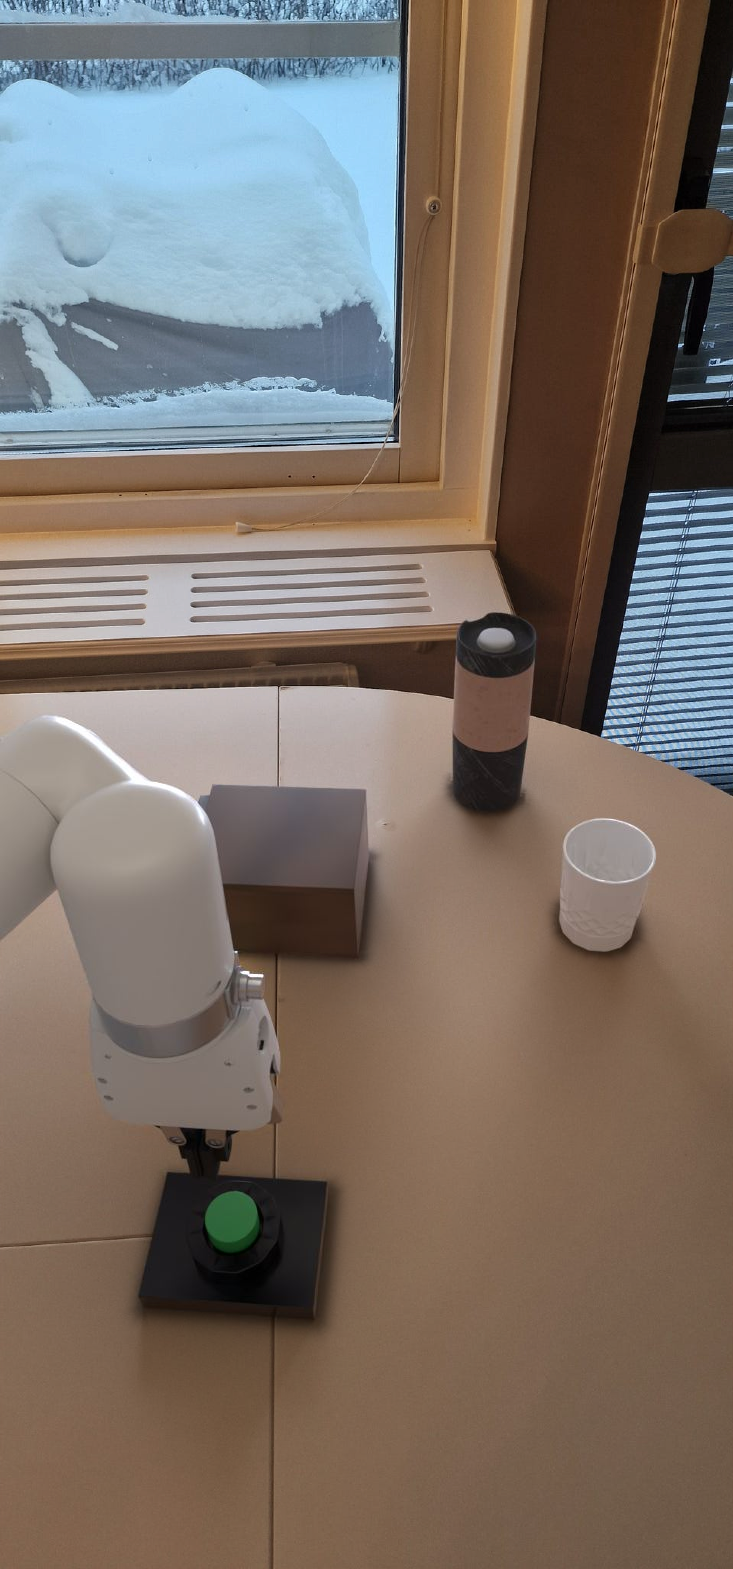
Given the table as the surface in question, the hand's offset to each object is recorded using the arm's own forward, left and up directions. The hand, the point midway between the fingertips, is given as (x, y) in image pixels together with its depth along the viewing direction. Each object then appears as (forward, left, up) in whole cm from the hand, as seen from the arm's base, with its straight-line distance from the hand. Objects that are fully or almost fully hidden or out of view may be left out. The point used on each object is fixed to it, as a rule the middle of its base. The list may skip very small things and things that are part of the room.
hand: (209, 1157), depth 67 cm
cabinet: (0, +32, -12) cm, 35 cm away
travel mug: (+19, +49, -12) cm, 54 cm away
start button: (+1, -1, -8) cm, 8 cm away
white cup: (+29, +31, -12) cm, 44 cm away
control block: (+1, -1, -12) cm, 12 cm away
